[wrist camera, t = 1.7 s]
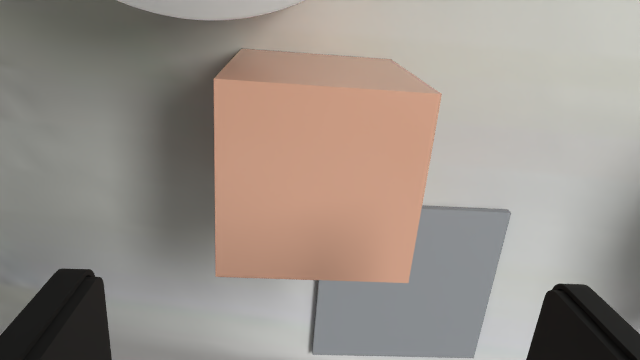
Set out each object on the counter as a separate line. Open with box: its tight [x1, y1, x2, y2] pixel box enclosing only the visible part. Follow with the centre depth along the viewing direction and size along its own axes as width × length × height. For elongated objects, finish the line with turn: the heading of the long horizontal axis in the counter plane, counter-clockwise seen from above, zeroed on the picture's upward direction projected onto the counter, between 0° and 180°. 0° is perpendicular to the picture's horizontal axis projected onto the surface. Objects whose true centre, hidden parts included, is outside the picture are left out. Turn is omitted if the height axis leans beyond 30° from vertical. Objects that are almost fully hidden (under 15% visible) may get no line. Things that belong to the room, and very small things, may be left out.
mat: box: [312, 206, 511, 358], centre depth 26 cm, size 10×10×1 cm
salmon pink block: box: [214, 49, 442, 283], centre depth 19 cm, size 7×7×8 cm
